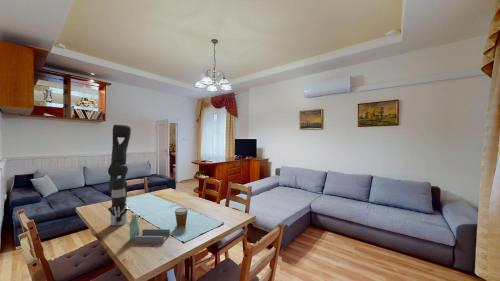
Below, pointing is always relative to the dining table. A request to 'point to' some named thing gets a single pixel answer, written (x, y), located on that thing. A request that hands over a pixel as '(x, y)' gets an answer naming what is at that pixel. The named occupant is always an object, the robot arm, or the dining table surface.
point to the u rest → (152, 236)
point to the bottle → (134, 227)
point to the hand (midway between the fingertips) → (119, 221)
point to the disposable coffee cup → (181, 216)
